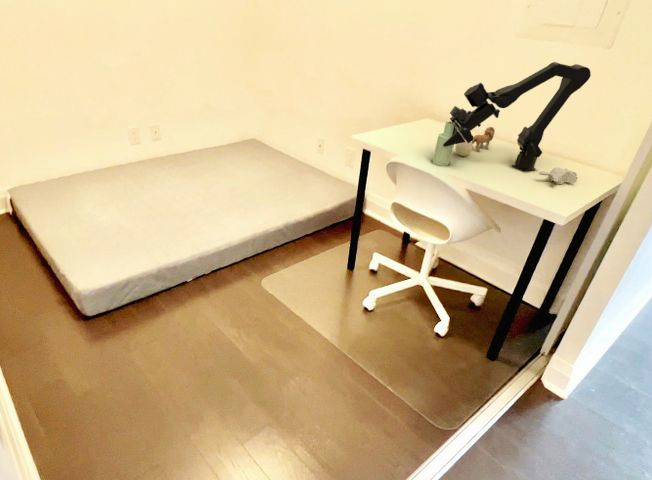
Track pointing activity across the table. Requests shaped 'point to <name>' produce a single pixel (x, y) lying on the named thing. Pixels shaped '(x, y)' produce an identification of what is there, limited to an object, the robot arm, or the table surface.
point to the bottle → (441, 152)
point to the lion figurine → (484, 138)
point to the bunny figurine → (561, 175)
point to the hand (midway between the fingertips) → (441, 142)
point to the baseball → (464, 148)
